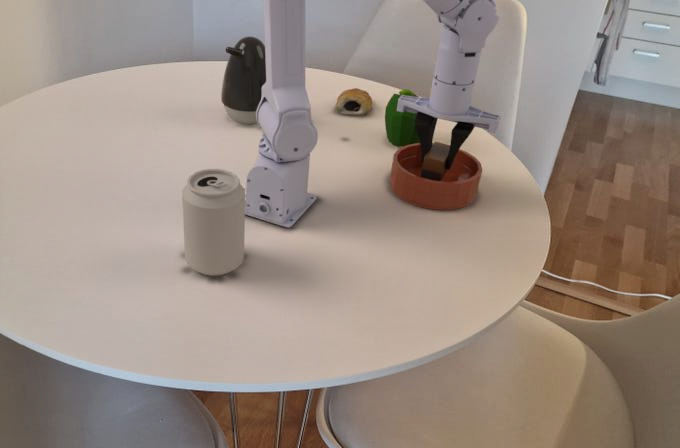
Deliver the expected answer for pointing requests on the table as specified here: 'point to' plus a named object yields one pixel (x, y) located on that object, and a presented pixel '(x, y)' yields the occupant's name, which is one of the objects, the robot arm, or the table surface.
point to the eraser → (435, 162)
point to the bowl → (430, 194)
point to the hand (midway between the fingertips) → (437, 163)
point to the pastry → (354, 102)
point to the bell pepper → (400, 122)
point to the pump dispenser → (244, 79)
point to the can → (213, 221)
